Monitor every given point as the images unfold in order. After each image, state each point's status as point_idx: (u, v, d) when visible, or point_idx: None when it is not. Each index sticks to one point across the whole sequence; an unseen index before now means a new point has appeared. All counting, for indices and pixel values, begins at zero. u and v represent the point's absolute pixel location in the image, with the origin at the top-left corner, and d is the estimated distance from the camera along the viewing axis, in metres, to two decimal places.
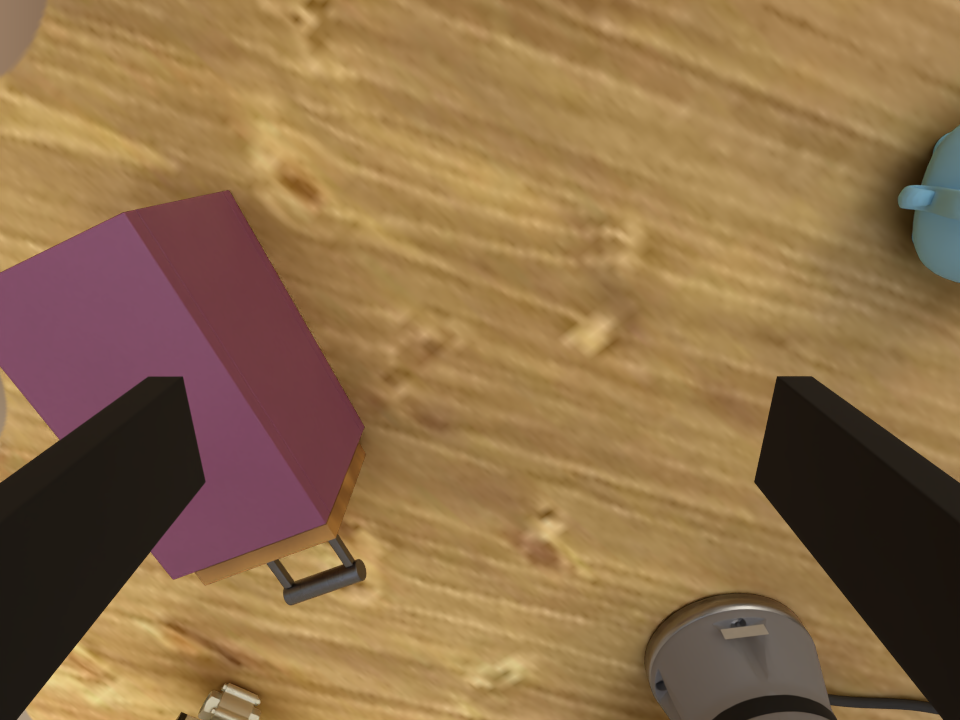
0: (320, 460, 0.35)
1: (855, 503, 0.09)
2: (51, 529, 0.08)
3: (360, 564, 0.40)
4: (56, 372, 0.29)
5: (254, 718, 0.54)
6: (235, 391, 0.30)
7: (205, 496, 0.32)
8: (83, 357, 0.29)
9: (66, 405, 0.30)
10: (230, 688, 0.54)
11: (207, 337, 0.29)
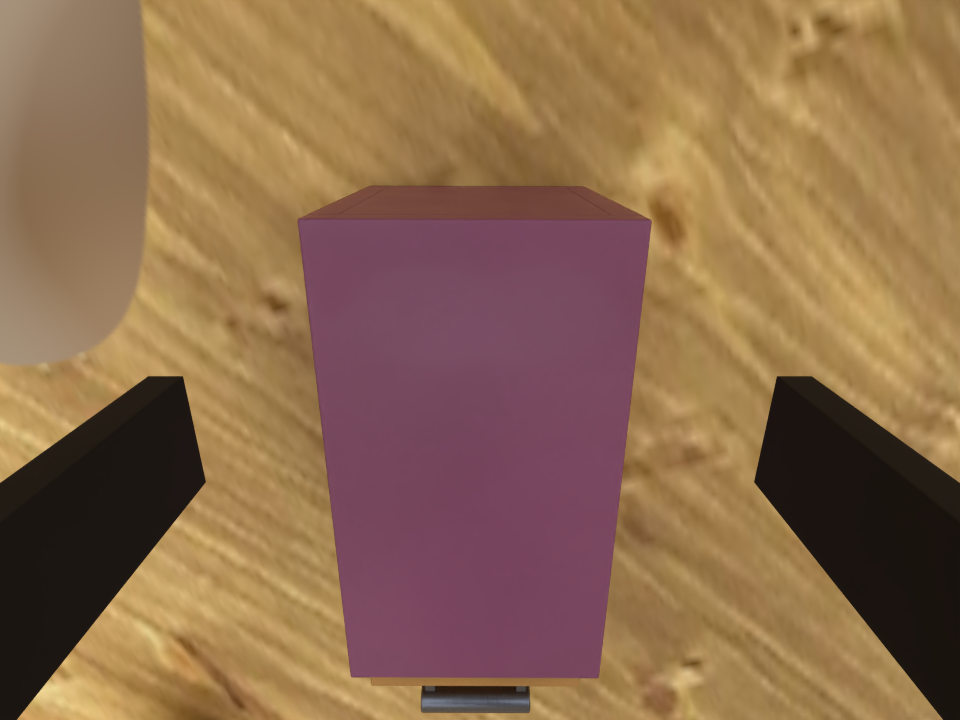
0: None
1: (855, 503, 0.09)
2: (51, 529, 0.08)
3: None
4: (390, 381, 0.19)
5: None
6: (614, 496, 0.21)
7: (473, 600, 0.23)
8: (444, 377, 0.19)
9: (371, 427, 0.20)
10: None
11: (627, 418, 0.20)
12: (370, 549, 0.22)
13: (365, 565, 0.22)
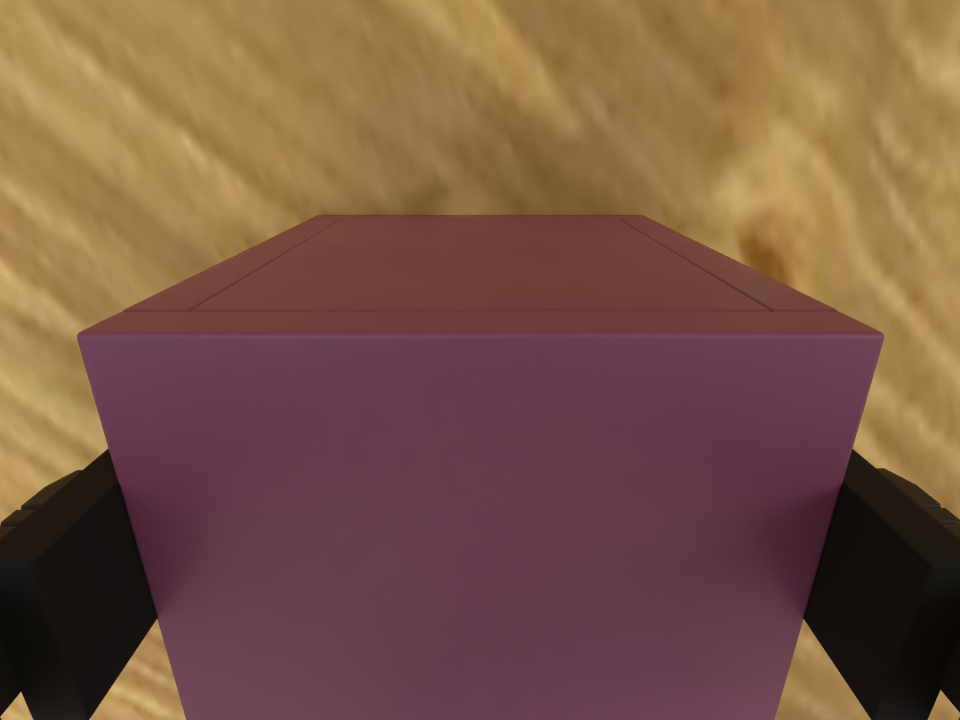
0: None
1: None
2: None
3: None
4: (309, 635, 0.09)
5: None
6: None
7: None
8: (419, 630, 0.09)
9: (278, 708, 0.10)
10: None
11: (777, 688, 0.10)
12: None
13: None
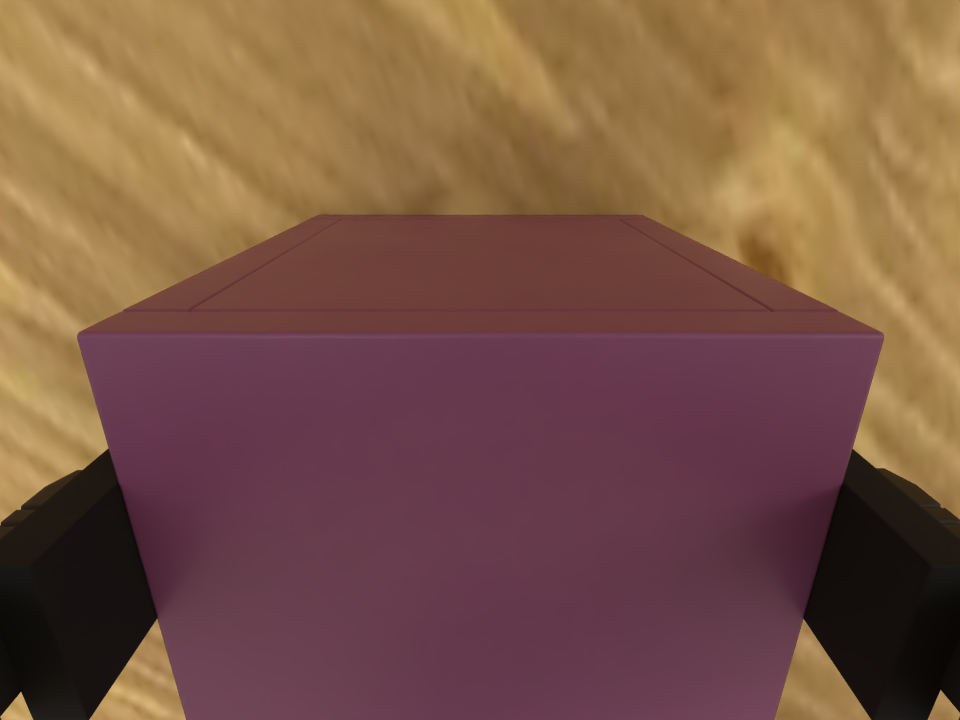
0: None
1: None
2: None
3: None
4: (309, 635, 0.09)
5: None
6: None
7: None
8: (419, 629, 0.09)
9: (278, 708, 0.10)
10: None
11: (777, 688, 0.10)
12: None
13: None
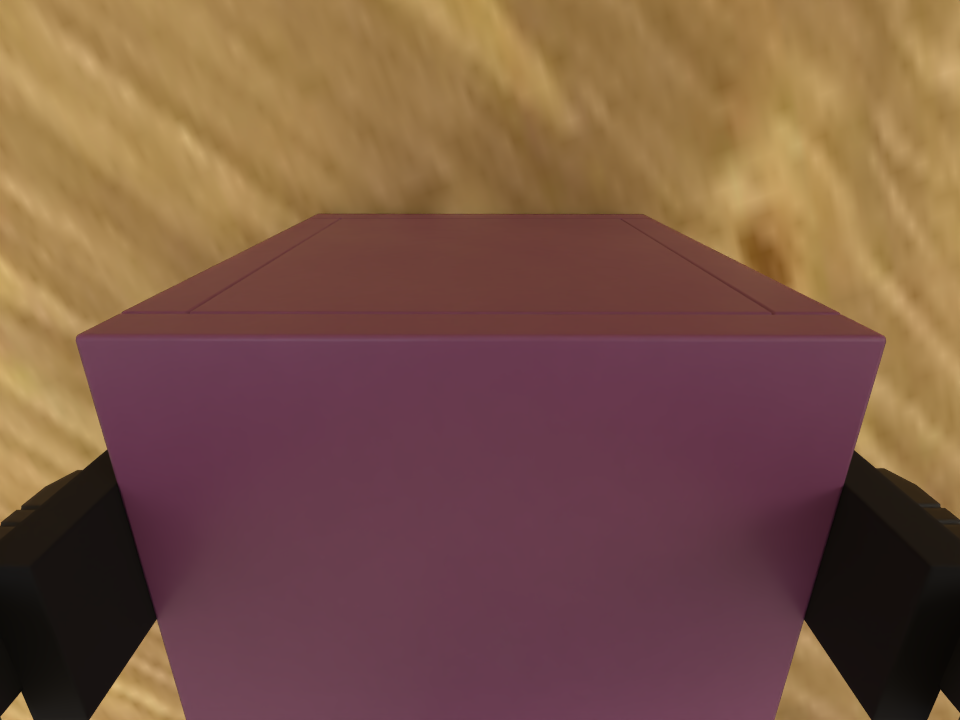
0: None
1: None
2: None
3: None
4: (309, 637, 0.09)
5: None
6: None
7: None
8: (419, 631, 0.09)
9: (278, 709, 0.10)
10: None
11: (776, 689, 0.10)
12: None
13: None
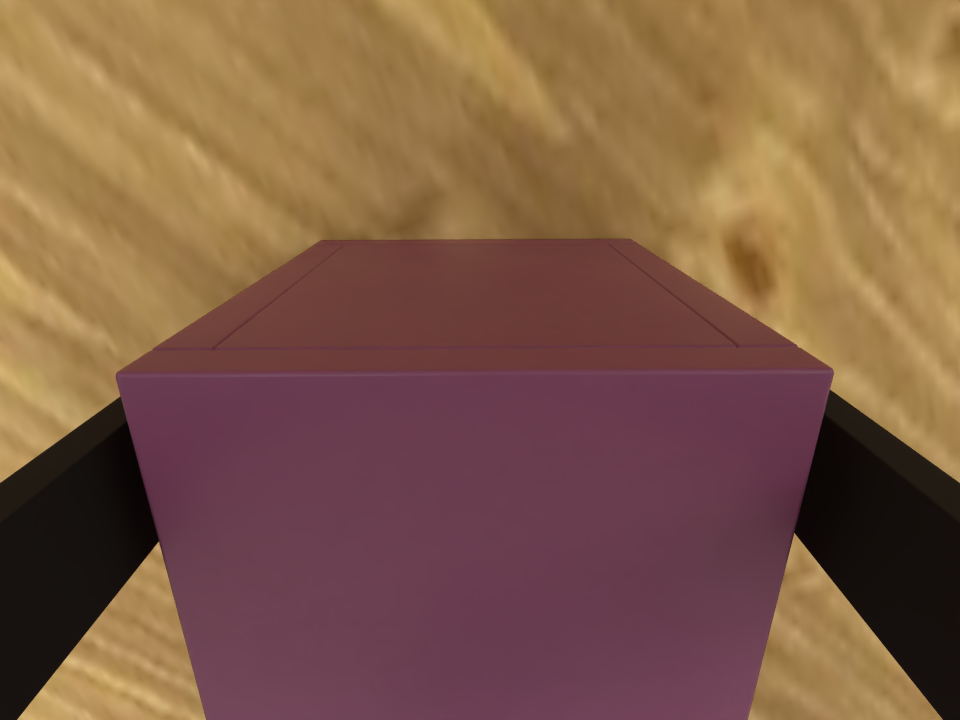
0: None
1: (854, 503, 0.10)
2: (51, 529, 0.08)
3: None
4: (321, 642, 0.10)
5: None
6: None
7: None
8: (421, 636, 0.10)
9: (292, 710, 0.11)
10: None
11: (750, 687, 0.11)
12: None
13: None
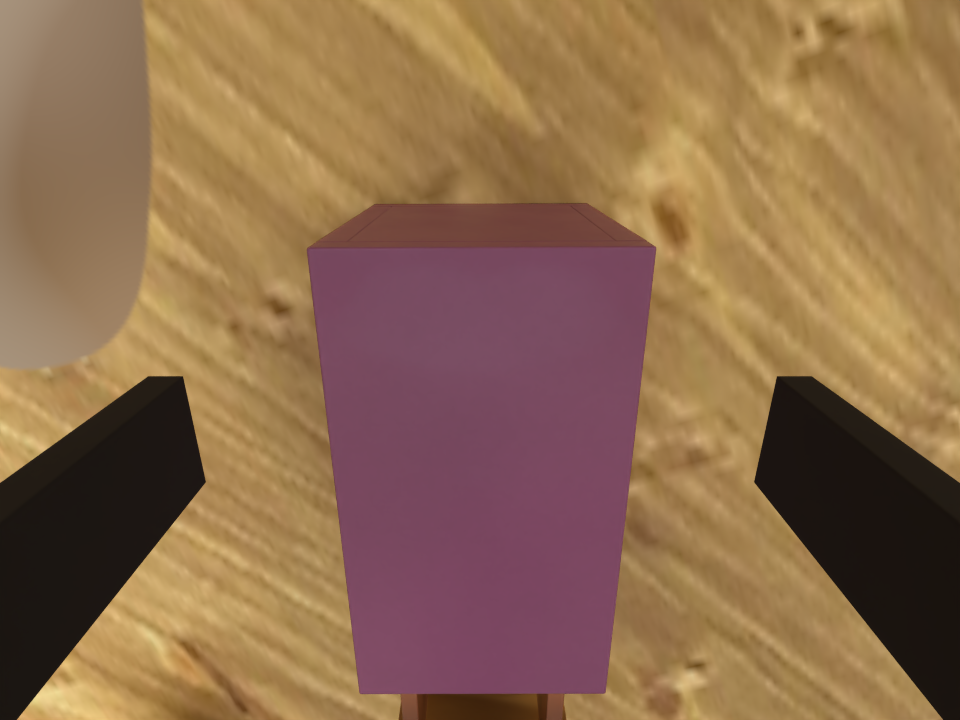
0: None
1: (855, 503, 0.09)
2: (51, 529, 0.08)
3: None
4: (398, 404, 0.19)
5: None
6: (620, 515, 0.21)
7: (480, 617, 0.23)
8: (451, 401, 0.19)
9: (379, 449, 0.20)
10: None
11: (633, 439, 0.20)
12: (378, 569, 0.22)
13: (374, 584, 0.22)
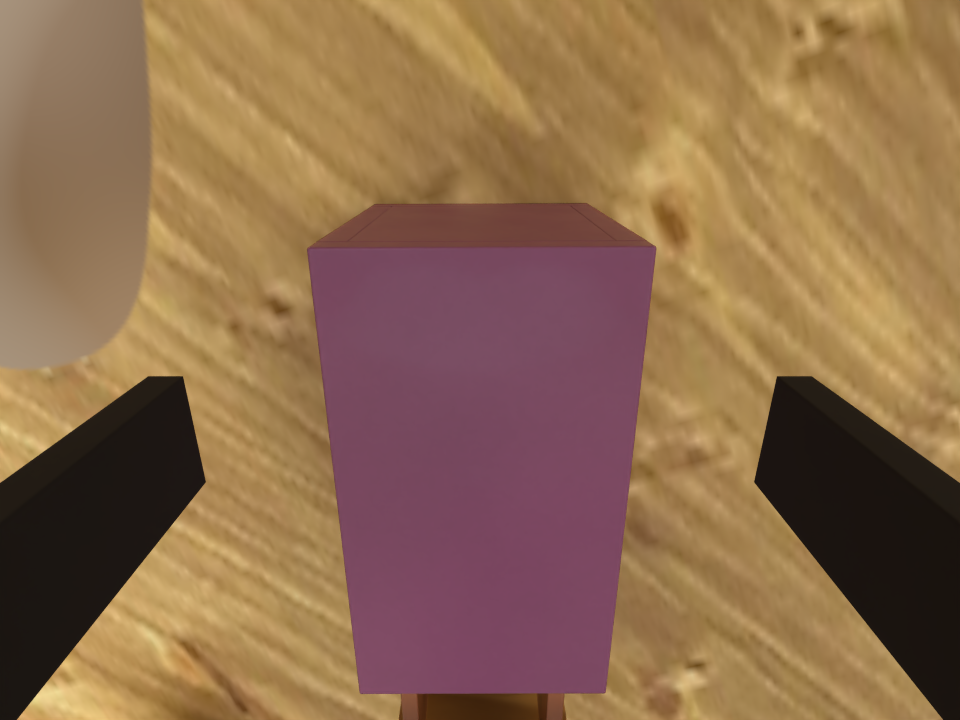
0: None
1: (855, 503, 0.09)
2: (51, 529, 0.08)
3: None
4: (398, 404, 0.19)
5: None
6: (620, 515, 0.21)
7: (480, 617, 0.23)
8: (452, 401, 0.19)
9: (379, 449, 0.20)
10: None
11: (633, 439, 0.20)
12: (379, 568, 0.22)
13: (374, 584, 0.22)
